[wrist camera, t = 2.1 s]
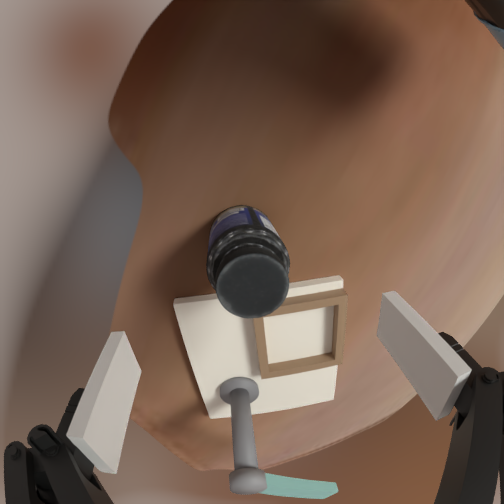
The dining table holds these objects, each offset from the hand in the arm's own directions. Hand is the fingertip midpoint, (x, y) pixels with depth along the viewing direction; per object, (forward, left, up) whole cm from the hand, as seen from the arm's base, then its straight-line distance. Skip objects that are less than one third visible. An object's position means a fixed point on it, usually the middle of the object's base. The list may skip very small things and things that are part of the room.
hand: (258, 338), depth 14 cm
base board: (+16, +1, -16) cm, 22 cm away
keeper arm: (+24, +1, -2) cm, 24 cm away
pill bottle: (0, 0, -16) cm, 16 cm away
